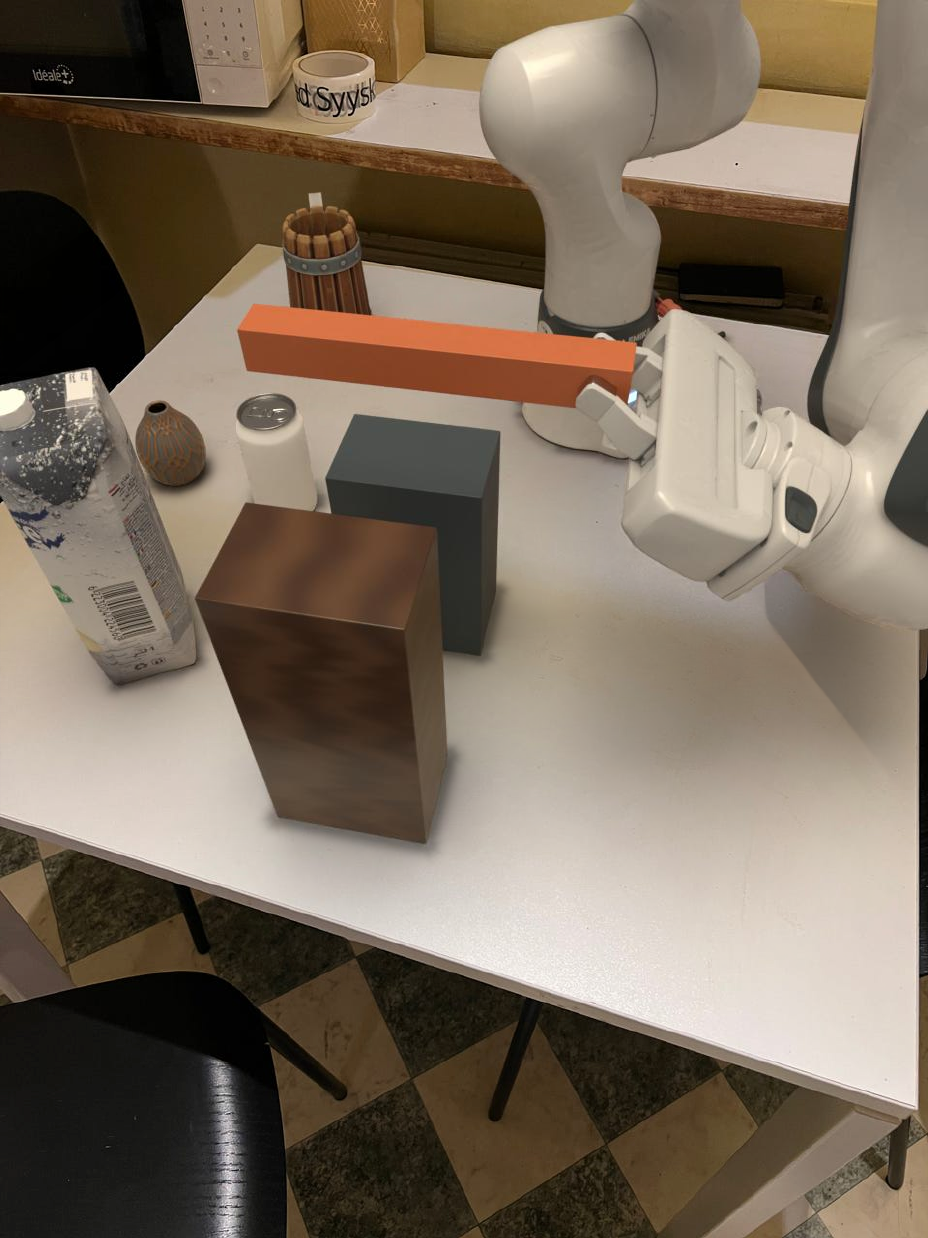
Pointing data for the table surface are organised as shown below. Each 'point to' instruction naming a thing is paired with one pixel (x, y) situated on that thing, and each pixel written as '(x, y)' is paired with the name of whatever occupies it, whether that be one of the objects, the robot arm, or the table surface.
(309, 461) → the can
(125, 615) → the juice carton
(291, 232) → the mug
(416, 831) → the tall stand
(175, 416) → the vase
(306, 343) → the rod
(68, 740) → the table surface
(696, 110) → the robot arm
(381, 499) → the lower stand
